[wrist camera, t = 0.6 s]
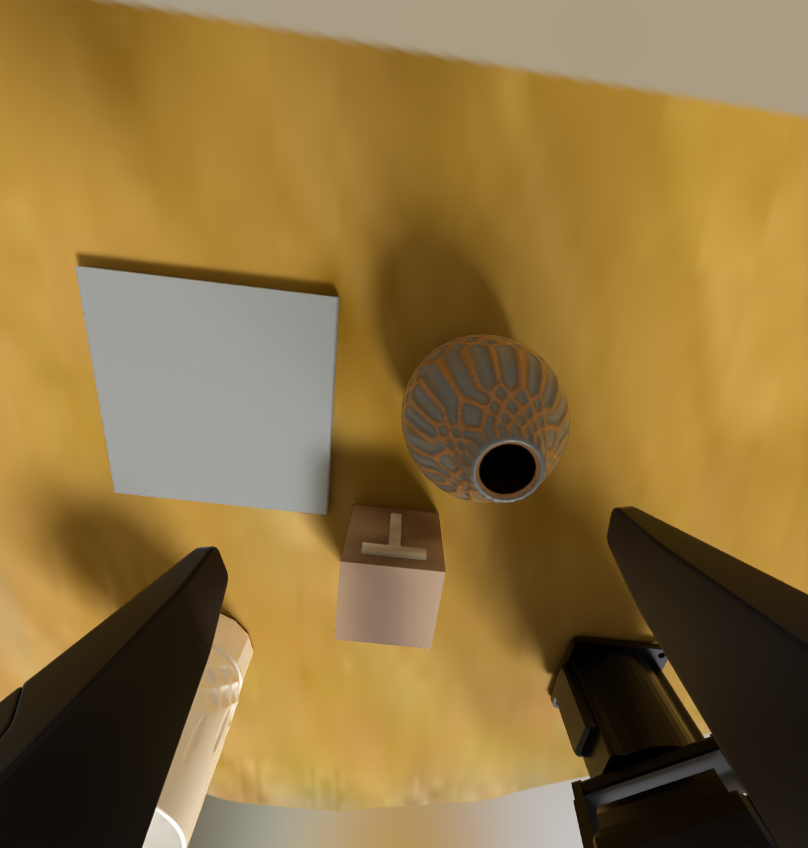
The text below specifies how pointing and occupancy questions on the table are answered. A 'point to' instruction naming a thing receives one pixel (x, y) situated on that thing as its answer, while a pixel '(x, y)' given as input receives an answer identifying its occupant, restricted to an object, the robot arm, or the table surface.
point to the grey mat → (213, 388)
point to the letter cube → (390, 577)
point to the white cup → (201, 738)
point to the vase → (485, 418)
